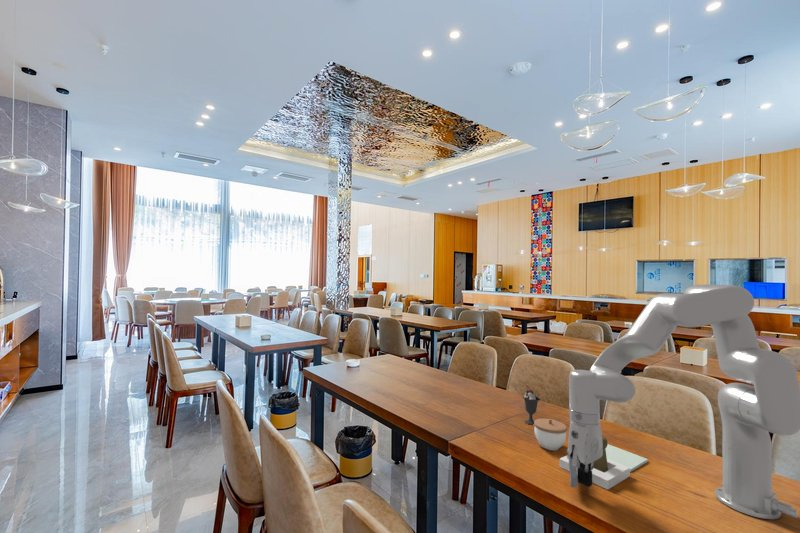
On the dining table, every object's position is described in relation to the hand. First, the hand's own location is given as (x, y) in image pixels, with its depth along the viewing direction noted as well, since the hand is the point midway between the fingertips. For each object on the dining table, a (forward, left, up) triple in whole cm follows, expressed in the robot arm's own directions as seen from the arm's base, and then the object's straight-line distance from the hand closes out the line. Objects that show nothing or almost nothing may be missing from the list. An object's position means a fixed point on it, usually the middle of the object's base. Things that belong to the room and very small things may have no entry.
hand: (584, 483), depth 98 cm
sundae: (+39, -31, -3) cm, 50 cm away
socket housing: (+5, -14, -3) cm, 15 cm away
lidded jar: (+22, -18, -3) cm, 28 cm away
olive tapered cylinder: (+4, -15, -3) cm, 16 cm away
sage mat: (+5, -30, -3) cm, 30 cm away
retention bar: (+6, -3, 0) cm, 6 cm away
